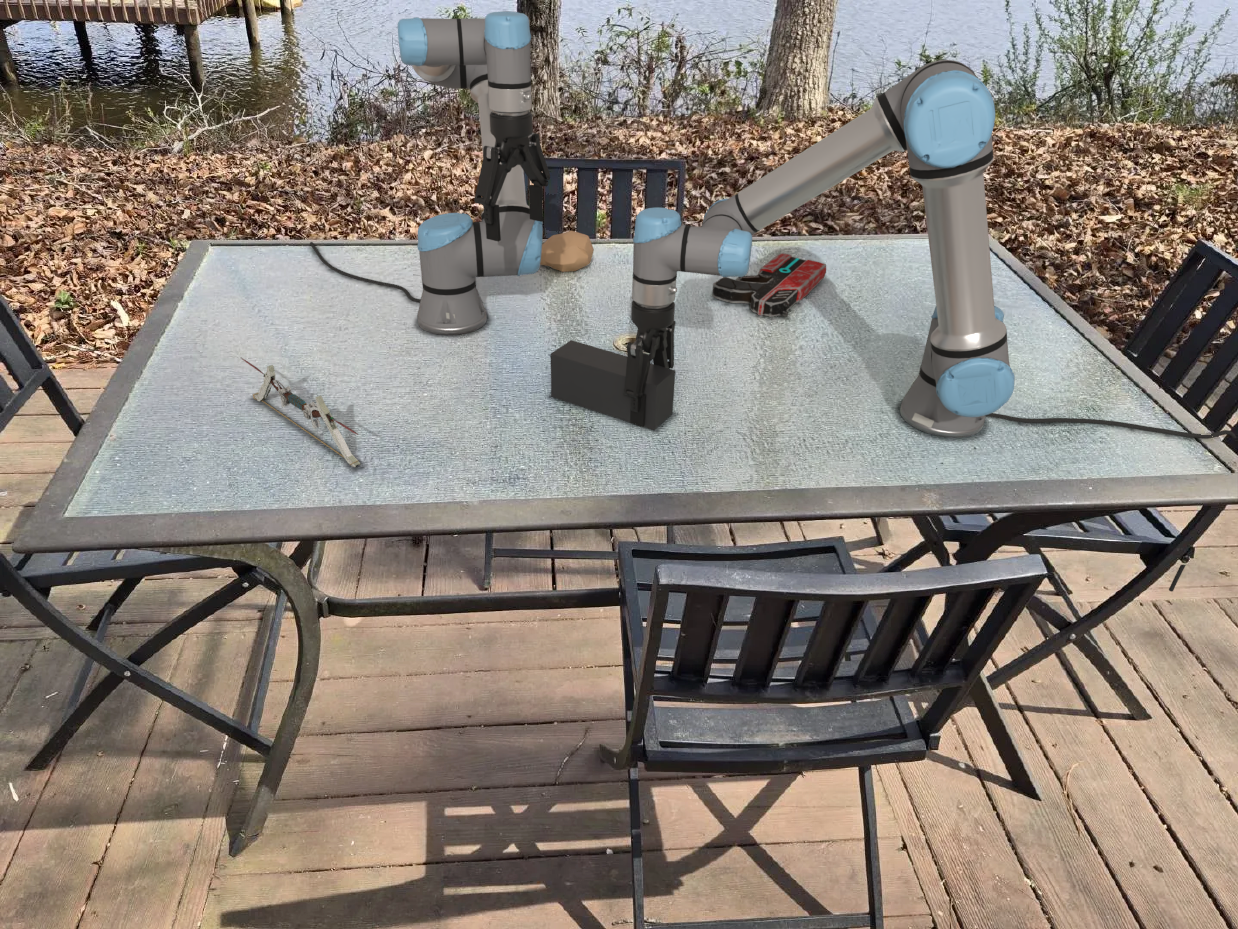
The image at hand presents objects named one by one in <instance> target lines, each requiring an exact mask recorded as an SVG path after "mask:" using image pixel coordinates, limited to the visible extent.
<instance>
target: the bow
mask: <svg viewBox="0 0 1238 929" xmlns="http://www.w3.org/2000/svg"><path fill="white" fill-rule="evenodd" d="M240 359H241V360H242V361H243V362H245V363H246V364H248V365H249V366H250V367H252V368H253V369H255V370H256V371H258V372H259V373H260V374H262V375H263V383H262V384H261V385H260V387H259V389H258V392H255V393H253V394H252V397H253V399H254V400H255V401H257V402H262V403H263V404H265V405H266V406H268V407H269V408H271V409H272V410H274V411H275V412H277V413H278V414H280V416H282V417H284V418H285V419H287V420H289V421H290V422H291V423H293V424H294V425H295V426H297V427H298V428H300V429H301V430H303V431H304V432H306V433H307V434H309V435H310V436H311V437H313V438H314V439H316V440H317V441H319V442H320V443H322V445H325V446H326V447H328V449H330V450H332V451H333V452H335V453H336V454H337V455H339V456H341V457H342V458H343V459H345V461H346V462H347V463H348V464H349V466H351V467H353V468H357V466H361V465H362V464H361V462H359V460H358V459H357V458H356V457H355V456H354V454H353V453H352V452H351V450H350V448H349V446H348V444H347V442H346V440H345V438H344V437H343V435H342V433H341V431H340V430H339V428H338V425H340V426H341V427H343V428H345V429H346V430H348V431H349V432H351V433H353V434H355V435H357V436H358V435H359V433H358V432H356V431H355V430H354V429H352V428H351V427H349V426H347V425H346V424H344V423H342V422H340V421H339V420H336V419H335V418H334V417H333V415H332V413H331V411H330V409H329V408H328V407H327V404H326V403H325V400H324V397H323V396H322V395H318V396H315V402H314V401H312V402H310V403H307V402H306V400H304V399H303V398H302V397H300V396H299V395H297V394H295V393H293V392H292V388H291V386H289V385H288V386H286V387H285V385H284V384H283V383H282V382H280V381H279V380H277V379H276V371H275V367H274V364H271V365H268V366H267V367H266V372H265V373H264V372H263V371H261V370H260V368H259V367H256V366H255V364H252V363H250V361H248V360H246V359H244V358H243V357H242V356H240ZM272 387H273V388H274V389H275V390H276V391H277V392H278V395H279V397H280V405H281V407H282V408H286V407H288V406H289V407H290V405H292V406H293V407H295V408H296V409H298V410H300V411H302V414H303V417H304V418H305V419H307V420H309V421H310V422H311V425H312V428H313V429H315V430H316V429H318V428H321V427H322V425H321V423H320V419H319V418H321V419H322V420H323V422H324V424H325V426H326V428H327V429H328V431H329V433H330V435H331V437H332V439H333V442H334V443H335V445H336V446H337V448H338V451H339V452H338V451H337V450H336V449H334V448H332V447H331V446H330V445H328V444H327V443H325V442H324V441H323V440H321V439H319V438H318V437H317V436H315V435H314V434H312V433H311V432H309V431H308V430H307V429H305V428H304V427H302V426H300V424H297V423H296V422H295V421H293V420H292V419H291V418H289V417H288V416H286V415H285V414H284V413H282V412H280V411H279V410H277V409H276V408H274V407H273V406H271V405H270V404H269V403H268V402H266V401H265V400H266V399H267V398H268V397H269V394H270V393H271V390H272ZM337 424H338V425H337Z"/></svg>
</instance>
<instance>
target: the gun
mask: <svg viewBox="0 0 1238 929" xmlns="http://www.w3.org/2000/svg"><path fill="white" fill-rule="evenodd" d="M826 273H827V264H826V263H823V262H820V261H816V260H812V259H802V258H799V257H795V256H793V255H792V254H791V253H784V252H780V253H778V254H777V255H775V256H774V257H773V258H771V259H770V260H768V261H767V262H766V263H765V264H763V265H762V266H761V267H760V269H759V271H758V273H757V274H756V275H753V274H752V275H751V274H750V275H745V276H743V277H736V278H735V279H734V278H732V277H720V279H717V281H715V282H713V283H712V291H711V297H713V298H714V299H716V300H719V301H723V302H727V303H730V304H750V305H749V308H750V310H751V312H753V313H755V314H757V315H758V316H760V317H761V316H765V317H770V318H771V317H777V316H780V317H784V318H787V317H788V315H789V311H788V310H790V309H791V308H792V307H793V306H794V305H795V304H798V303H799V302H801V301H802V300H803V299H804V298H805V297H807V296H808V295H809V294H810V293H811V292H812V291H813V290H814V289H815V287H817V285H818V284H820V283H821V282H822V280H823V279H824V278H825V276H826Z"/></svg>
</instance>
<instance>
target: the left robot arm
mask: <svg viewBox="0 0 1238 929" xmlns="http://www.w3.org/2000/svg"><path fill="white" fill-rule="evenodd" d="M397 38H398V47H399V48H398V49H399V56H400V61H401V62H402V63H403V64H404V65H405V66H411V67H412V69H413V70H414V72H415V73H416V74H417V76H418V77H420V78H421V79H422V80H423V81H426V82H428V83H431V84H433V85H435V86H439V87H443V88H447V89H456V90H459V89H461V90H462V89H463V90H469V92H470V97H471V99H472V100H473V101H474V102H475V103H477V104H478V112H479V113H478V115H479V129H480V139H481V150H482V163H481V167H480V172H479V177H478V180H477V184H476V185H477V186H476V189H475V194H474V199H473V200H474V203H475V204H479V205H482V208H483V211H481V213H480V220H481V221H473V218H472V217H471V216H470V215H469V214H467V213H464V212H463V213H460V212H449V213H443V214H437V215H435V216H431V217H430V218H427V219H426V220H424V221H423V222H421V224H419V226H418V229H417V247H416V248H417V250H418V252H419V253H418V255H419V263H420V275H421V276H420V277H421V284H422V292H421V297H420V298H417V297H414V296H412V295H411V294H410V292H409V291H408V290H407V289H406V288H405V287H403V286H402V285H398V284H395V283H390V282H385V281H379V280H375V279H371V278H367V277H362V276H358V275H355V274H352V273H349V272H346V271H343V270H341V269H339V268H337V267H335V266H333V265H332V264H330V262H328V261H327V260H325V258H324V257H323V256H322V254H321V252H320V251H319V250H318V249H317V247H316V246H315V244H314V242H313V241H310V242H309V244H310V246H311V247H312V249H313V251H314V253H316V255H317V257H318V258H319V260H320V261H321V262H322V263H323V264H324V265H325V266H326V267H328V268H329V269H330V270H332V271H333V272H336V273H338V274H340V275H343V276H346V277H348V278H352V279H355V280H358V281H361V282H366V283H370V284H375V285H380V286H382V287H383V286H384V287H390V288H394V289H398V290H400V291H402V292H403V293H404V294H405V295H406V297H407V298H408V299H409V300H410V301H412V302H415V303H419V305H418V310H417V315H416V318H417V325H418V326H419V328H420V329H421V330H423V331H424V332H427V333H430V334H433V335H440V336H459V335H465V334H469V333H473V332H476V331H477V330H480V329H481V328H483V327H484V326H485V325H486V323H487V320H488V316H487V310H486V306H485V304H484V302H483V299H482V298H481V295H480V293H479V291H478V288H477V278H493V277H494V278H495V277H513V276H515V277H516V276H517V277H520V276H524V275H525V276H527V275H534V274H536V273H537V272H538V271H539V270H540V268H541V265H540V262H541V252H542V244H543V234H544V229H543V221H544V187H548V186H549V181H550V180H551V173H550V169H549V167H548V164H547V161H546V158H545V155H544V152H543V149H542V147H541V140H540V138H541V137H540V134H539V133H536V132H534V127H533V124H534V123H533V113H532V112H531V110H532V108H533V104H532V103H533V102H532V100H533V98H532V78H531V77H532V75H531V72H532V71H531V70H532V69H531V64H532V63H531V40H532V34H531V29H530V20H529V16H528V15H526V14H525V13H523V12H519V11H493V12H492V11H491V12H489V13H488V14H486V16H485V17H483V18H482V17H481V18H480V17H479V18H477V17H476V18H475V17H474V18H473V17H472V18H469V17H468V18H467V17H466V18H463V17H462V18H431V17H430V18H429V17H427V18H424V17H423V18H421V17H412V18H401V19H399V20H398V22H397ZM525 175H526V177H527V179H529V182H530V183H531V184H529V185H528V203H527V194H526V193H527V192H526V183H525V182H526V181H525ZM528 204H529V205H528Z"/></svg>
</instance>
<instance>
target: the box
mask: <svg viewBox="0 0 1238 929" xmlns="http://www.w3.org/2000/svg"><path fill="white" fill-rule="evenodd" d="M627 356H628V355H624V354H620V353H617V352H613V351H610V350H607V349H603V348H599V347H597V346H593V345H591V344H590V345H589V344H586V343H582V342H580V341H576V340H572V339H571V340H569V341H568V342H566V343H564V344H563V345H562V346H560V347H558V348H557V349H555V350H554V351H552V352H551V353H550V396H551V398H554V399H557V400H560V401H562V402H566V403H569V404H572V405H575V406H578V407H581V408H584V409H587V410H590V411H594V412H596V413H600V414H602V415H605V416H609V417H612V418H614V419H618V420H621V421H624V422H628V423H630V412H631V396H628V395H625V394H624V387H625V377H626V366H627ZM675 383H676V370H675V369H673V368H672V369H671V368H670V369H668V368H665V367H662V366H658V365H655V364H654V363H650V367H649V372H648V376H647V381H646V385H645V390H644V394H646V411H645V426H644V427H643V428H646V429H648V430H651V431H656V430H657V429H658V428H659V427H661V425H662V424H664V423H665V421H667V420H668V419H669V418H670V417H671V416H672V415H673V410H674V398H675Z"/></svg>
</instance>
